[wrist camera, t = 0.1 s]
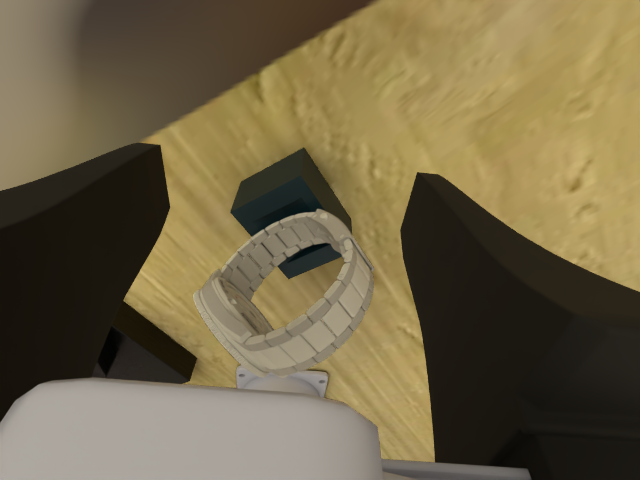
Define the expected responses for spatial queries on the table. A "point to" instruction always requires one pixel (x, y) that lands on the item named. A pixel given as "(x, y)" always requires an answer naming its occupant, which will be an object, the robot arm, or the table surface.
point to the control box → (142, 352)
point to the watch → (287, 270)
